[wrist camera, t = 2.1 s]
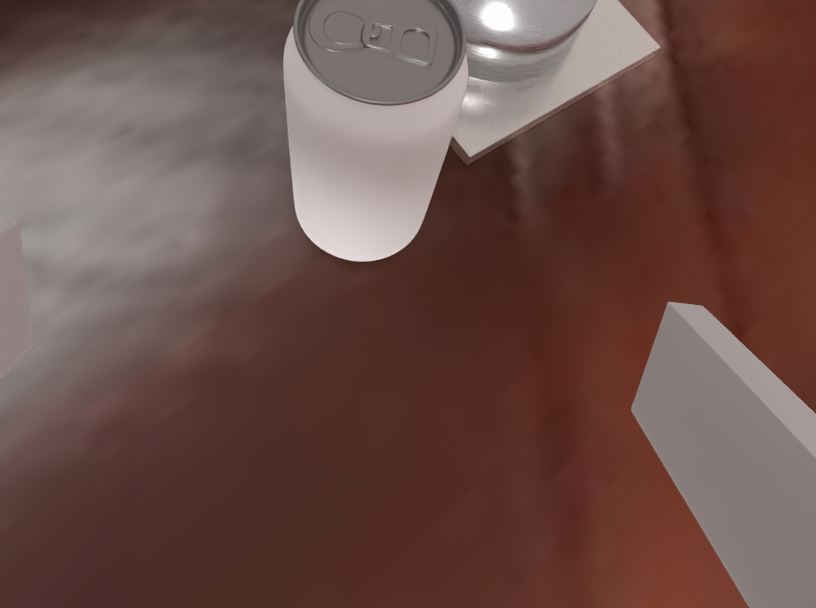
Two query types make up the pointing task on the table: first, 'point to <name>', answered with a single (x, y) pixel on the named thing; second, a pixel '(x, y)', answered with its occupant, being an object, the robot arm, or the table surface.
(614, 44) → the duct collar
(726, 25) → the table surface
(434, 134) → the can
